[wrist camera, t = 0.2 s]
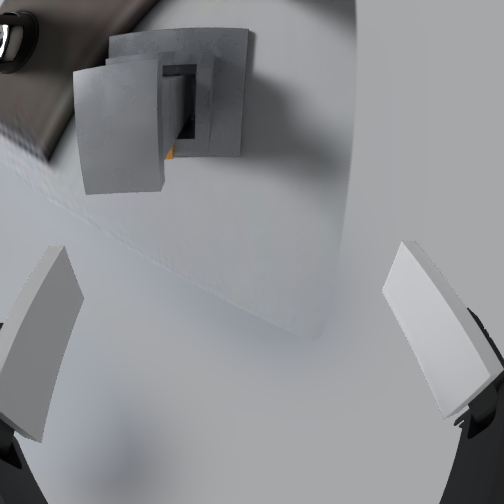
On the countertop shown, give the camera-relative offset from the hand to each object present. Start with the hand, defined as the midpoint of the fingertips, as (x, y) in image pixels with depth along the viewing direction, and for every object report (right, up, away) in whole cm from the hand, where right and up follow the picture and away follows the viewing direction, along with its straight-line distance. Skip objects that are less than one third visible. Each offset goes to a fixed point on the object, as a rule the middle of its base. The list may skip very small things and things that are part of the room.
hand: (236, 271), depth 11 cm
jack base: (-8, +19, +19) cm, 29 cm away
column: (-8, +19, +18) cm, 28 cm away
